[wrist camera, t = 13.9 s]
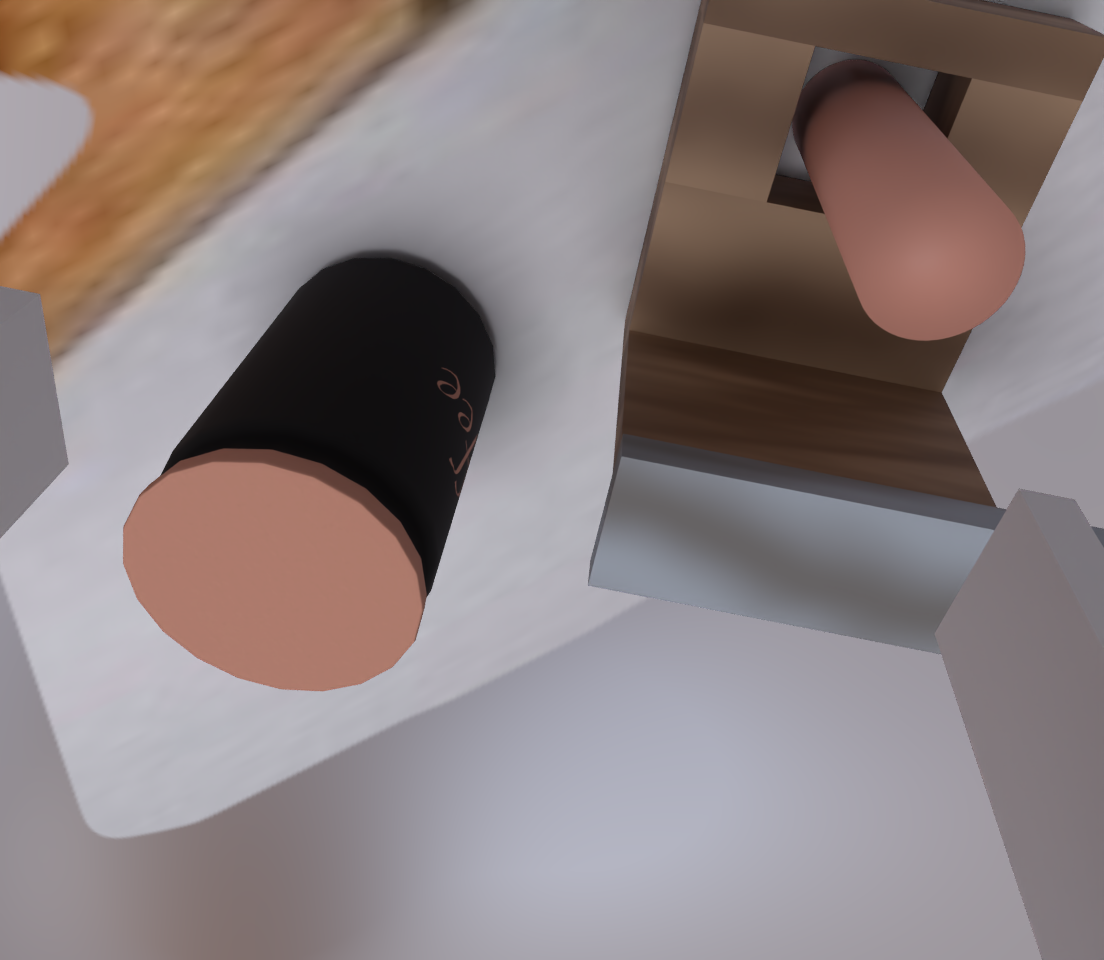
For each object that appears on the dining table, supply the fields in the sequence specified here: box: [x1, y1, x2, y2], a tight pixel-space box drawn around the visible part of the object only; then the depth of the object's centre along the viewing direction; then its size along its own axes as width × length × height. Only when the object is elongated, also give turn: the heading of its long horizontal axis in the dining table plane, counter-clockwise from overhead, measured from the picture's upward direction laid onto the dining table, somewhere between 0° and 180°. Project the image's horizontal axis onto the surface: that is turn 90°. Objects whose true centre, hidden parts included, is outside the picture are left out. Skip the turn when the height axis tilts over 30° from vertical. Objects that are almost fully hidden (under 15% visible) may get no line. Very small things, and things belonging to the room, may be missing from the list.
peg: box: [792, 60, 1025, 341], centre depth 32 cm, size 4×4×16 cm
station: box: [588, 0, 1104, 654], centre depth 32 cm, size 16×15×19 cm
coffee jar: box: [123, 258, 495, 691], centre depth 40 cm, size 11×11×18 cm
